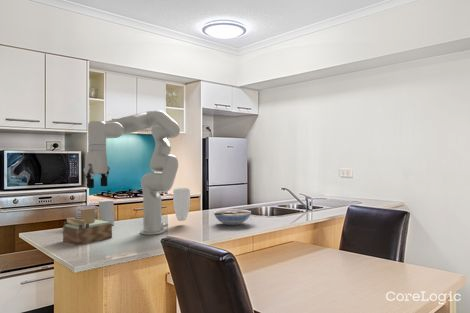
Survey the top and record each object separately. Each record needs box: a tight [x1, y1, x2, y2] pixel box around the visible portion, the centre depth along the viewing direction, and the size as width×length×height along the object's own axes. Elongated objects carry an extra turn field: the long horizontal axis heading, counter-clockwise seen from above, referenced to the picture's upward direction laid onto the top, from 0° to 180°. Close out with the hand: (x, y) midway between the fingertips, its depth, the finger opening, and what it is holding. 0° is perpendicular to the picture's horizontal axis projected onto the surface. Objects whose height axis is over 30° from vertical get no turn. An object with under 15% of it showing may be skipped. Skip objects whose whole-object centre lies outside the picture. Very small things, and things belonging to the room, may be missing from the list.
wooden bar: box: [66, 217, 86, 226], centre depth 170 cm, size 2×14×2 cm, turn 54°
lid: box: [65, 208, 110, 229], centre depth 175 cm, size 17×12×8 cm
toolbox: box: [62, 221, 113, 246], centre depth 175 cm, size 18×14×9 cm
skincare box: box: [98, 199, 115, 226], centre depth 211 cm, size 8×6×15 cm
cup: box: [172, 187, 191, 222], centre depth 211 cm, size 10×10×22 cm
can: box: [75, 204, 99, 220], centre depth 206 cm, size 11×11×12 cm
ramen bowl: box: [212, 208, 253, 226], centre depth 213 cm, size 25×23×8 cm
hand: (97, 187), depth 160 cm, fingers open, 9 cm apart
